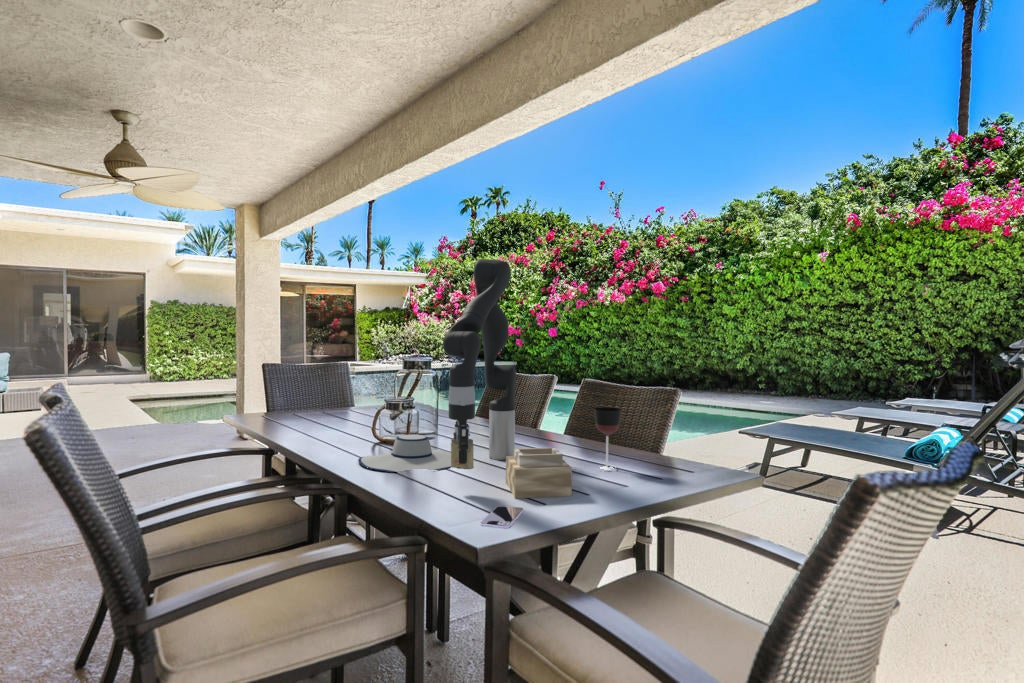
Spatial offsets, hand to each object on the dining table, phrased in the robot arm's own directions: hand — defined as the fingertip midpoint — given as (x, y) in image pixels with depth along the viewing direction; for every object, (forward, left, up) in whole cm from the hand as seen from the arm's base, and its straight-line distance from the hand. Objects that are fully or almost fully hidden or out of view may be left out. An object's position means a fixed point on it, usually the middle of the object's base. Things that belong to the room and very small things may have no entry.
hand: (461, 460), depth 167 cm
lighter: (0, 0, -2) cm, 2 cm away
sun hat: (-42, -14, -10) cm, 45 cm away
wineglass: (-20, +50, -9) cm, 55 cm away
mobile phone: (+23, +8, -10) cm, 26 cm away
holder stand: (0, +22, -9) cm, 24 cm away
